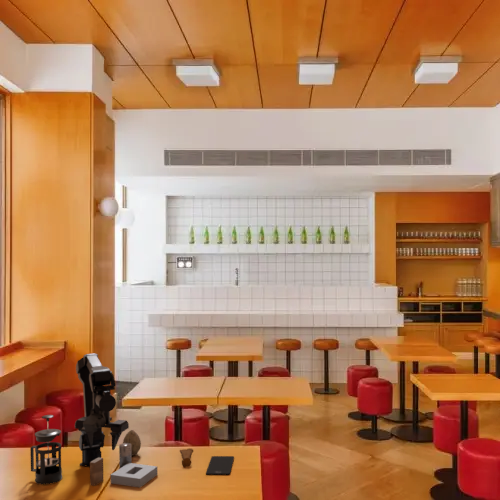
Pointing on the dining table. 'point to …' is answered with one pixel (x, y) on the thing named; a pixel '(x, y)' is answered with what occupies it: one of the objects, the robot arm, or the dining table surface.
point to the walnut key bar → (96, 471)
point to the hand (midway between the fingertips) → (102, 448)
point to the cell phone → (220, 465)
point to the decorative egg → (133, 441)
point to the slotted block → (134, 475)
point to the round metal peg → (125, 454)
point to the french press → (48, 465)
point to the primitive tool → (186, 457)
